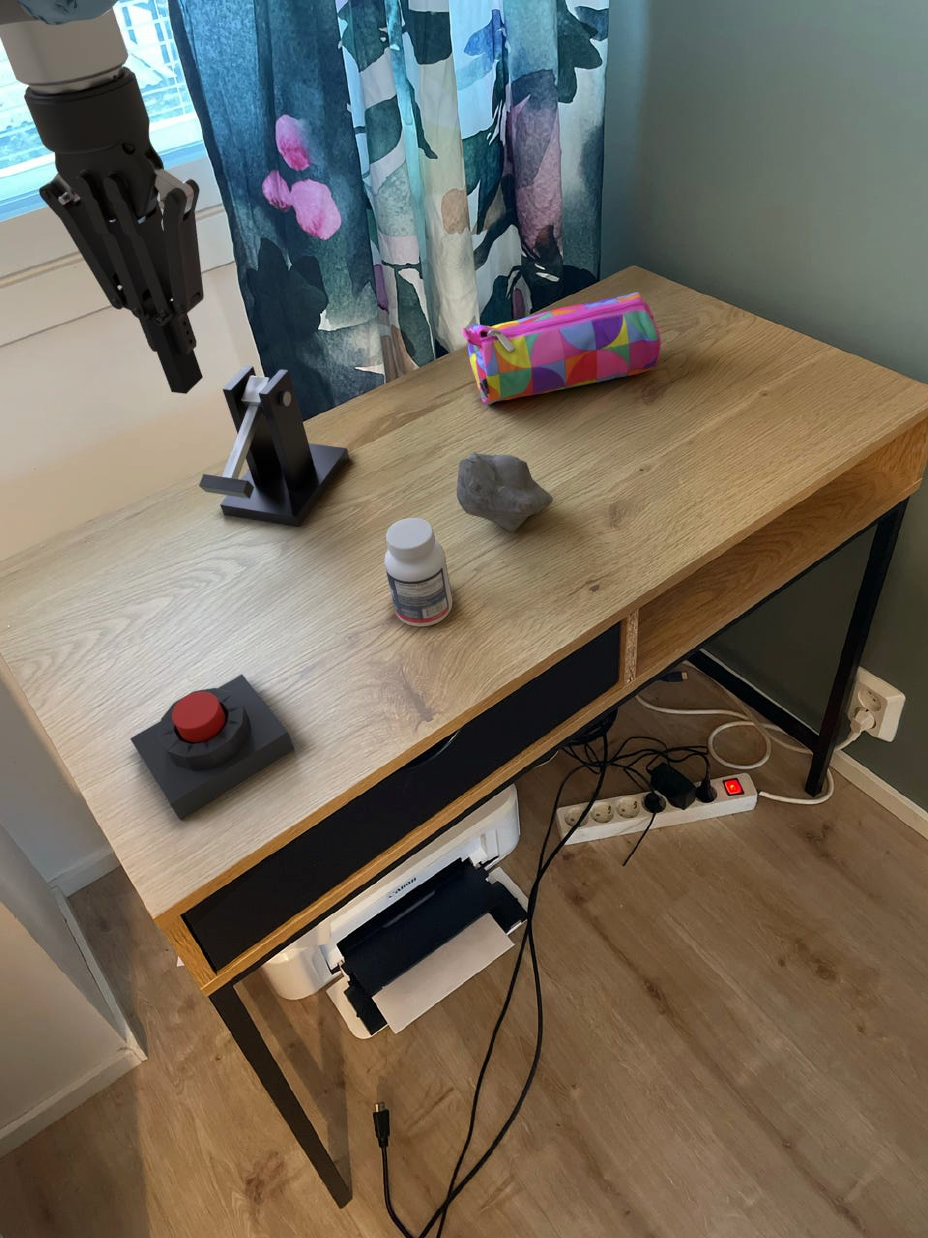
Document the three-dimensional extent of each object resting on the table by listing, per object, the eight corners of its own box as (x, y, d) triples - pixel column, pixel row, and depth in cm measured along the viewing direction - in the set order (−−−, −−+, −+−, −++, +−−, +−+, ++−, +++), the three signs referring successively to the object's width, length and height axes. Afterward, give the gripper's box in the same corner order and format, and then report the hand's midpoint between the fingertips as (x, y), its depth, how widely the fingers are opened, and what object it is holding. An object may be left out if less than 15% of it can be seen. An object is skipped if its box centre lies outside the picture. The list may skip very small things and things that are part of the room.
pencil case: (480, 425, 100) (472, 351, 93) (461, 382, 106) (453, 311, 100) (666, 384, 102) (671, 310, 95) (636, 345, 108) (639, 273, 102)
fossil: (577, 526, 86) (576, 457, 80) (504, 570, 83) (497, 502, 77) (505, 476, 93) (499, 409, 87) (435, 514, 90) (424, 448, 84)
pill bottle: (403, 585, 83) (387, 510, 77) (458, 588, 82) (446, 512, 76) (388, 626, 79) (371, 551, 73) (446, 630, 78) (433, 554, 72)
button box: (180, 820, 67) (161, 791, 65) (139, 754, 72) (121, 724, 69) (295, 749, 71) (282, 717, 68) (249, 690, 76) (235, 659, 73)
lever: (252, 501, 85) (240, 490, 83) (208, 494, 87) (195, 483, 85) (292, 392, 89) (282, 378, 86) (249, 387, 90) (237, 373, 88)
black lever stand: (299, 527, 91) (266, 418, 81) (223, 514, 93) (183, 408, 84) (349, 457, 98) (324, 351, 89) (277, 448, 101) (246, 344, 92)
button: (190, 750, 67) (183, 737, 66) (171, 722, 69) (164, 708, 68) (233, 725, 69) (226, 711, 67) (213, 698, 71) (206, 683, 69)
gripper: (187, 57, 61) (273, 369, 78) (36, 60, 65) (149, 355, 82) (122, 93, 56) (229, 416, 73) (-36, 93, 60) (100, 400, 77)
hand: (187, 384), depth 77 cm, fingers closed
